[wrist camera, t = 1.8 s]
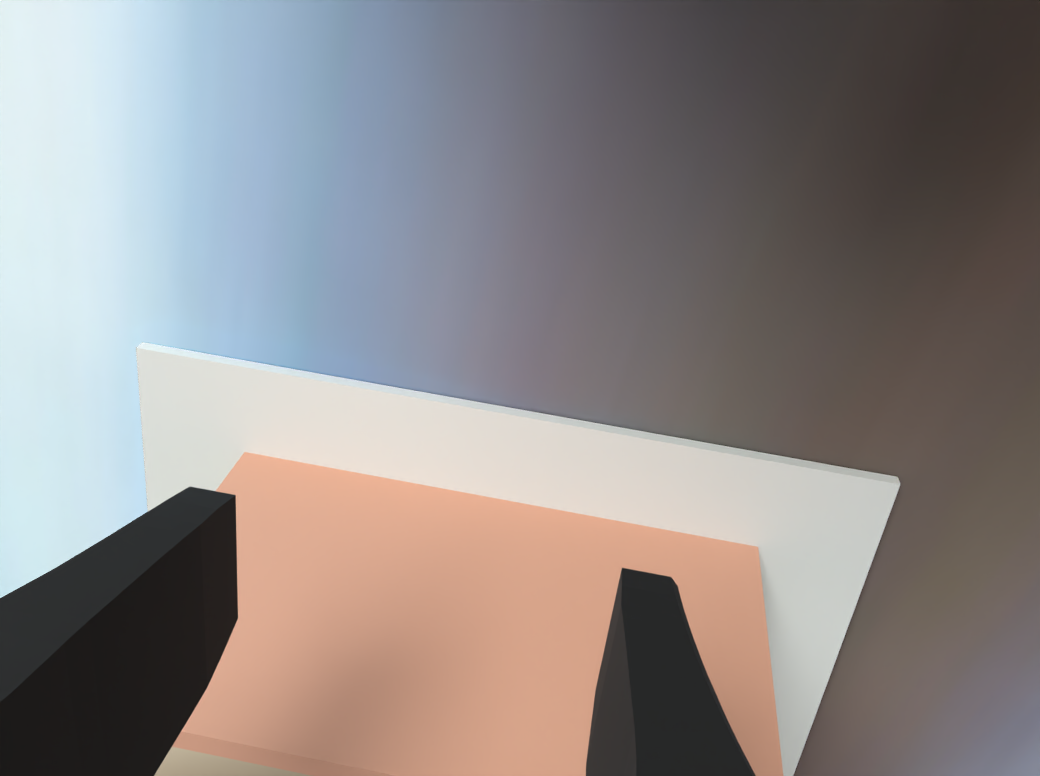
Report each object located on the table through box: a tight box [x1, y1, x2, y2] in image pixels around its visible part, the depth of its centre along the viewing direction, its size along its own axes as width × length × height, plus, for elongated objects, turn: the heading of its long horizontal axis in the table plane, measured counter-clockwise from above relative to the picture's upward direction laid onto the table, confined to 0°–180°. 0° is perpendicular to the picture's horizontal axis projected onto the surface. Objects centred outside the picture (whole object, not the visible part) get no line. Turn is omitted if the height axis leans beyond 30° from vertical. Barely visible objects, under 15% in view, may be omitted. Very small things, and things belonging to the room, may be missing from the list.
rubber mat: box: [136, 342, 900, 776], centre depth 25 cm, size 17×15×1 cm
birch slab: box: [154, 452, 783, 776], centre depth 20 cm, size 2×12×8 cm, turn 83°
